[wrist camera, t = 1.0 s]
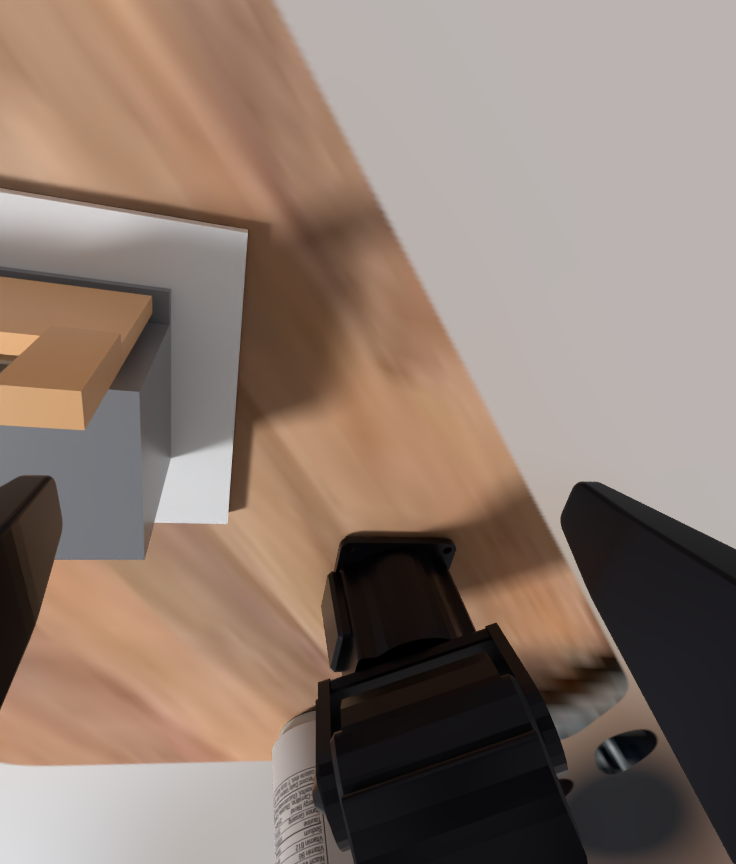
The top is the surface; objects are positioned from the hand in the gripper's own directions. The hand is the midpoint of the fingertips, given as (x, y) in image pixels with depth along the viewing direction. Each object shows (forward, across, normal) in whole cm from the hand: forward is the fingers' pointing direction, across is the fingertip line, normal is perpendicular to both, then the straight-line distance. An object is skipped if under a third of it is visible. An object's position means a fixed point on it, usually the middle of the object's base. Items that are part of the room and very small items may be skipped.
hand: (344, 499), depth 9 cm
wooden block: (+11, +7, 0) cm, 14 cm away
